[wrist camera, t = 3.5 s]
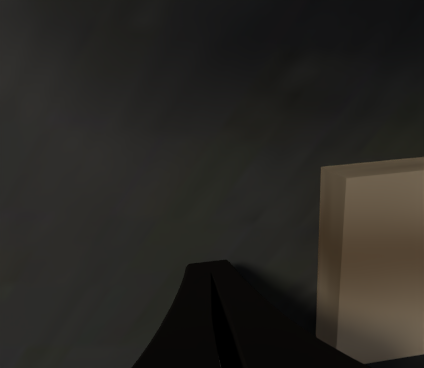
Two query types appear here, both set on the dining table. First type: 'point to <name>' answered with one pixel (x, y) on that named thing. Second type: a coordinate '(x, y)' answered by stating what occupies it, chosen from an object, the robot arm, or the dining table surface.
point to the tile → (372, 259)
